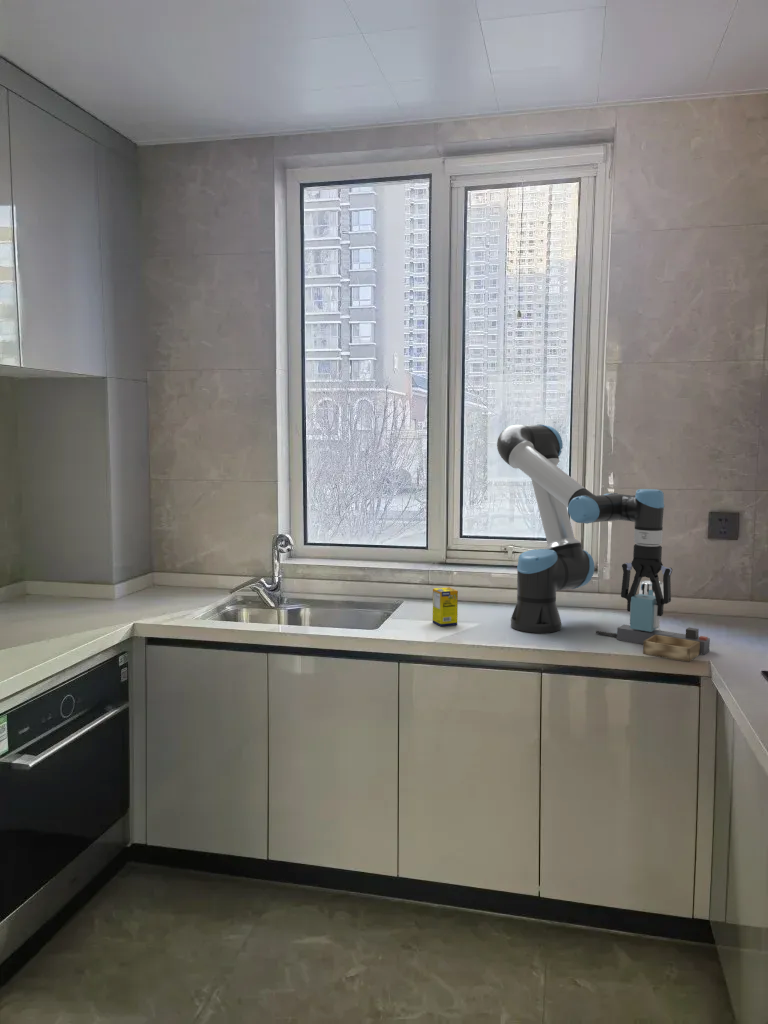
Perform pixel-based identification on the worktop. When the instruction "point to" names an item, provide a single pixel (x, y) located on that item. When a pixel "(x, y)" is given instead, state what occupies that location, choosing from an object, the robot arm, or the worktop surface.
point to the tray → (671, 648)
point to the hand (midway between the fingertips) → (644, 624)
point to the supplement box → (445, 606)
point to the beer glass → (649, 590)
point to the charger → (642, 612)
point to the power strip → (640, 636)
